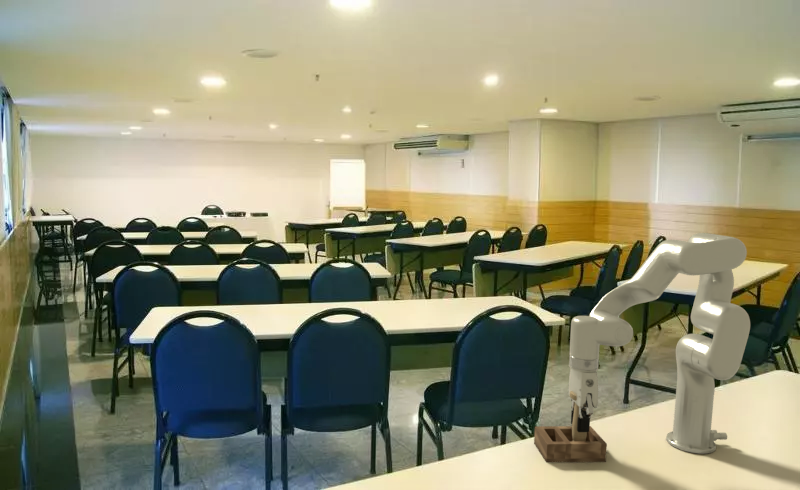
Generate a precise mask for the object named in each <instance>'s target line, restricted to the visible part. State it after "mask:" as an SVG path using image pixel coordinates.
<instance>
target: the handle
mask: <svg viewBox="0 0 800 490" xmlns="http://www.w3.org/2000/svg"><path fill="white" fill-rule="evenodd" d="M569 397H571V398H572V399H573V400H575V401H576V400H577V397H576V395H575V394H574V393H573V392H572V391H570V396H569ZM571 398H570V399H571ZM583 406H586V404H583ZM583 411H586V409H583ZM578 417H579V406H578V405H577V404H576V403H575V406H574V415H573V423H572V424H571V426H572V438H573V440H572V441H586V436H587V432H578V431H577V420H578Z"/></svg>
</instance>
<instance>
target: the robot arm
mask: <svg viewBox="0 0 800 490" xmlns="http://www.w3.org/2000/svg"><path fill="white" fill-rule="evenodd" d="M747 251H748V250H747V247H746V245H745V243H744V242H743V241H742V240H741V239H739V238H738V237H737V238H736V237H733V236H728V235H720V234H715V233H708V232H707V233H706V232H699V233H695V234H693V235H691V236H690V237H689V238H688V240H687V241H684V240H678V239H666V240H663V241H662V242H661V241H660V243H659V244H658V245H657V246H656V247H655V248H654V250H653V251H652V252H651V253H650V255H649V256H648V257H647V258H646V259H645V261H644V262H643V263H642V265H641V266H640V267H639V268H638V270H637V271H636V272H635V273H634V274H633V276H632V277H631V278H630V279H628V280H627V281H625V282H623V283H622V284H620V285H618V286H617V287H615V288H614V289H612V290H611V291H609V292H607V293H606V294H605V295H604V296H602V298H601V299H600V300H599V301H598V303H597V304H596V305H595V306H594V307H593V309H592V310H591V312H590V313H589V315H577V316H574V317H573V318H572V319H571V323H570V335H569V336H570V337H569V339H570V340H569V359H568V367H569V378H568V392H567V393H568V397H570V391H572V392H573V393H574V394H575V395H576V397H577V400H576V401H575V400H573V399H572V398H571V397H570V399H571V400H570V401H571V406H570V407H571V412H570V424H571V425H572V423H573V415H574V406H575V403H576V404H577V405H578V406H579V417H578V420H577V431H578V432H589V428H590V426H591V425H590V423H591V418H592V415H594V409H597V408H598V406H599V379H598V377H599V375H598V372H597V371H598V370H599V359H600V358H599V357H600V346H610V347H623V346H626V345H627V344H629V343H630V342H631V341H632V340H633V337H634V330H633V327H632V325H631V324H630V323H629V322H628V321H627V320H625V319H623V318H621V317H620V315H621V314H622V313H623V312H625V311H626V310H628V309H629V308H631V307H633V306H635V305H639V304H643V303H648V302H653V301H656V300H657V299H659V298H660V297H661V296H662V295H663V293H664V292H665V290H666V289H667V288H668V287H669V285H671V283H672V282H673V281H674V279H675V278H676V277H677V275H678V274H681V275H686V276H699V280H698V287H697V289H696V294H695V297H694V301H693V306H692V309H691V313H690V321H691V324H692V325H693V326H694V327H695V328H697V329H698V330H701V331H703V332H706V333H708V334H711V335H713V337H712V338H710V337H709V336H705V335H703V334H699V333H688V334H685V335H683V336H682V337H681V338H679V340H678V341H677V344H676V347H675V360H676V369H677V370H676V371H677V372H676V374H677V375H676V376H677V377H676V387H675V389H676V390H675V400H674V401H675V403H674V414H673V415H674V416H673V427H672V428H673V429H672V431H670V432H668V433H667V434H666V438H665V439H666V441H667V443H668V444H669V445H671V446H673V447H674V448H676V449H678V450H681V451H684V452H688V453H692V454H699V455H700V454H703V455H705V454H711V453H713V452H715V451H716V448H717V445H716V441H717V440H720V441H721V440H722V441H723V440H728V434H727V433H726V432H718V430H717V429H712V423H713V422H712V421H713V413H714V412H713V411H714V398H715V391H716V387H715V380H718V381H719V380H720V381H726V380H730V379H732V378H733V377H734V376H735V375H736V374H737V372H738V370H739V368H740V367H741V363H742V360H743V356H744V353H745V349H746V346H747V342H748V339H749V336H750V335H749V334H750V330H751V319H750V316H749V313H748V312H747V311H746V310H745V309H744V308H743V307H741V306H740V305H738V304H735V303H731V301H732V296H733V292H734V291H733V290H734V286H735V279H734V278H735V277H734V272H733V270H734V269H737V268H738V267H740V266H741V265H742V264H743V263H744V262H745V260H746V259H747V256H748V255H747V254H748V252H747ZM583 404H586V406H583ZM583 409H586V411H583ZM714 441H715V442H714Z"/></svg>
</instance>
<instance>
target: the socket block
mask: <svg viewBox="0 0 800 490" xmlns="http://www.w3.org/2000/svg"><path fill="white" fill-rule="evenodd" d="M572 440H573V438H572V425H571V426H569V425H565V426H563V425H560V426H558V425H557V426H556V425H555V426H549V425H547V426H545V425H544V426H542V425H541V426H540V425H539V426H534V438H533V444H534V445H535V447H536V449H537V450H538V452H539V454H540V455H541V456H542V458H543V460H544V461H545V463H606V461H607V459H606V458H607V449H608V448H607V447H608V444H607V442H606V441H605V440H604V439H603V438H602V437H601V436H600V434H598V432H597V431H596V430H595V429H594V428H593V427H592V426H591V425H590V428H589V432H587V436H586V441H572Z"/></svg>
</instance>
